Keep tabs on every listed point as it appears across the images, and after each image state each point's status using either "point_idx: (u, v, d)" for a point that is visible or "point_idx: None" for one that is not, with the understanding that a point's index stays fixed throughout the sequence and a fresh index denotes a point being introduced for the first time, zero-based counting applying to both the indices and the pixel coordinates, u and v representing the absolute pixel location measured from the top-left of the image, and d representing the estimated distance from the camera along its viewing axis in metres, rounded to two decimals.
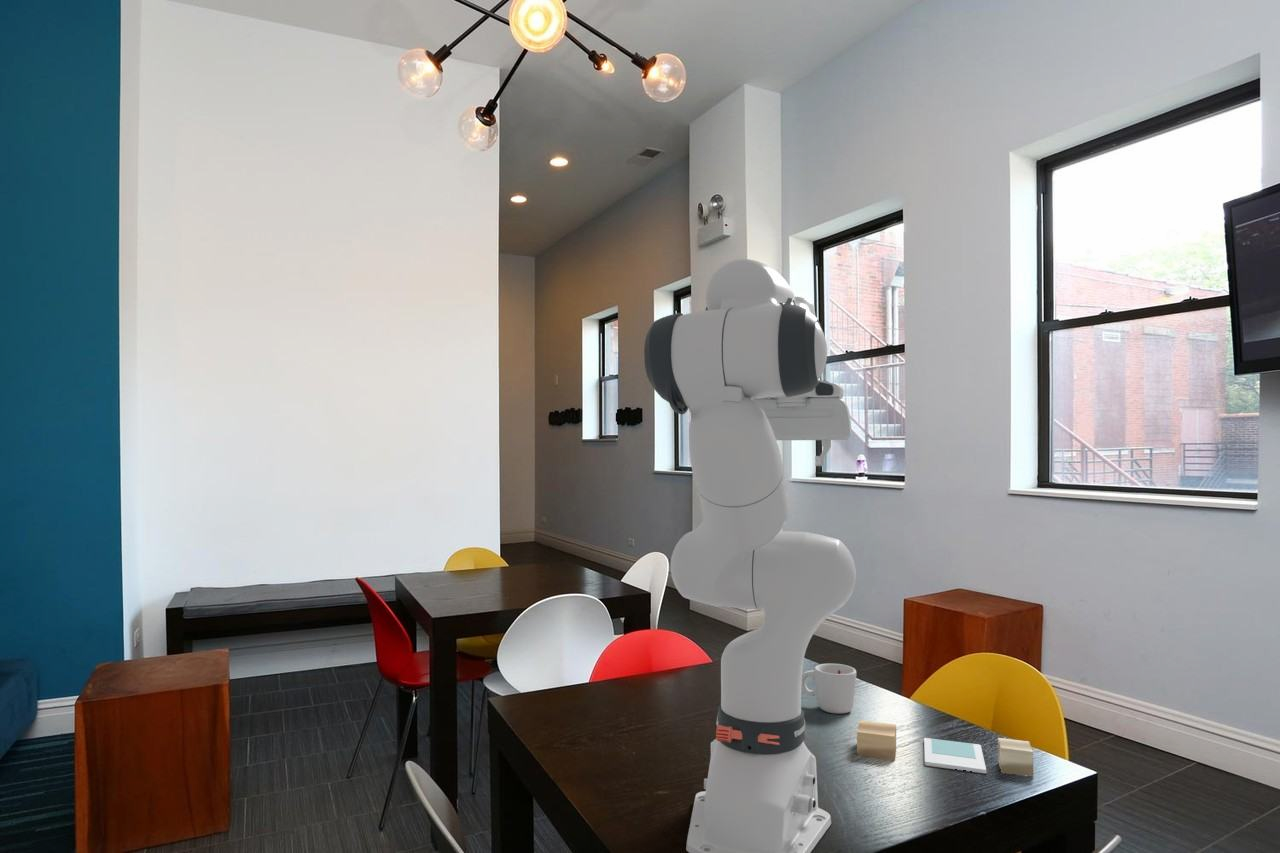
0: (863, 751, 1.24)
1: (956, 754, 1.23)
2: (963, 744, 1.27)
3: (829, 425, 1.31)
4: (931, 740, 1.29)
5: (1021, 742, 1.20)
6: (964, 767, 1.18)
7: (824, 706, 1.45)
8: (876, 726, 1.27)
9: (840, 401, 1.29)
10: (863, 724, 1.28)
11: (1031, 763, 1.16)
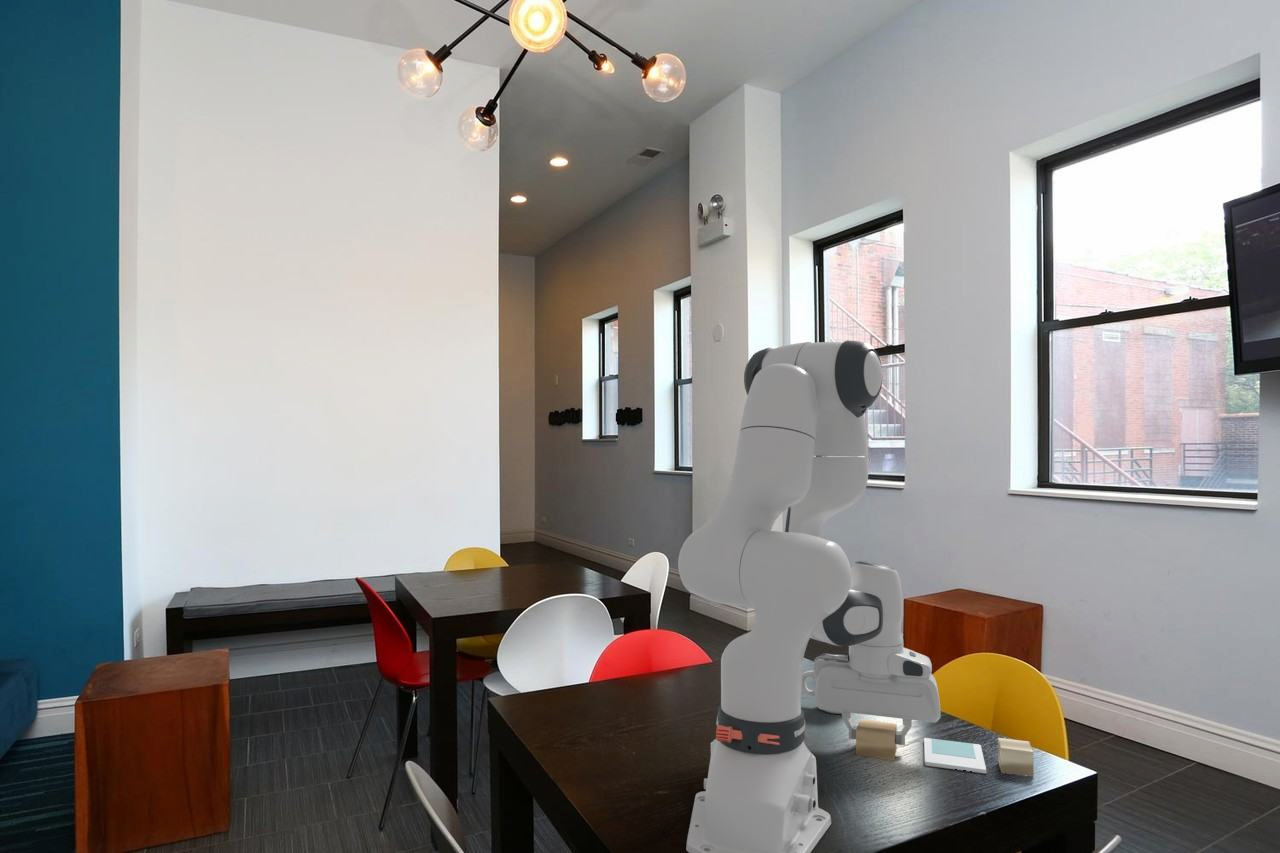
0: (862, 750, 1.24)
1: (956, 754, 1.23)
2: (963, 744, 1.27)
3: (917, 705, 1.22)
4: (931, 740, 1.29)
5: (1021, 742, 1.20)
6: (964, 767, 1.18)
7: None
8: (876, 725, 1.27)
9: (930, 682, 1.21)
10: (863, 723, 1.28)
11: (1031, 763, 1.16)
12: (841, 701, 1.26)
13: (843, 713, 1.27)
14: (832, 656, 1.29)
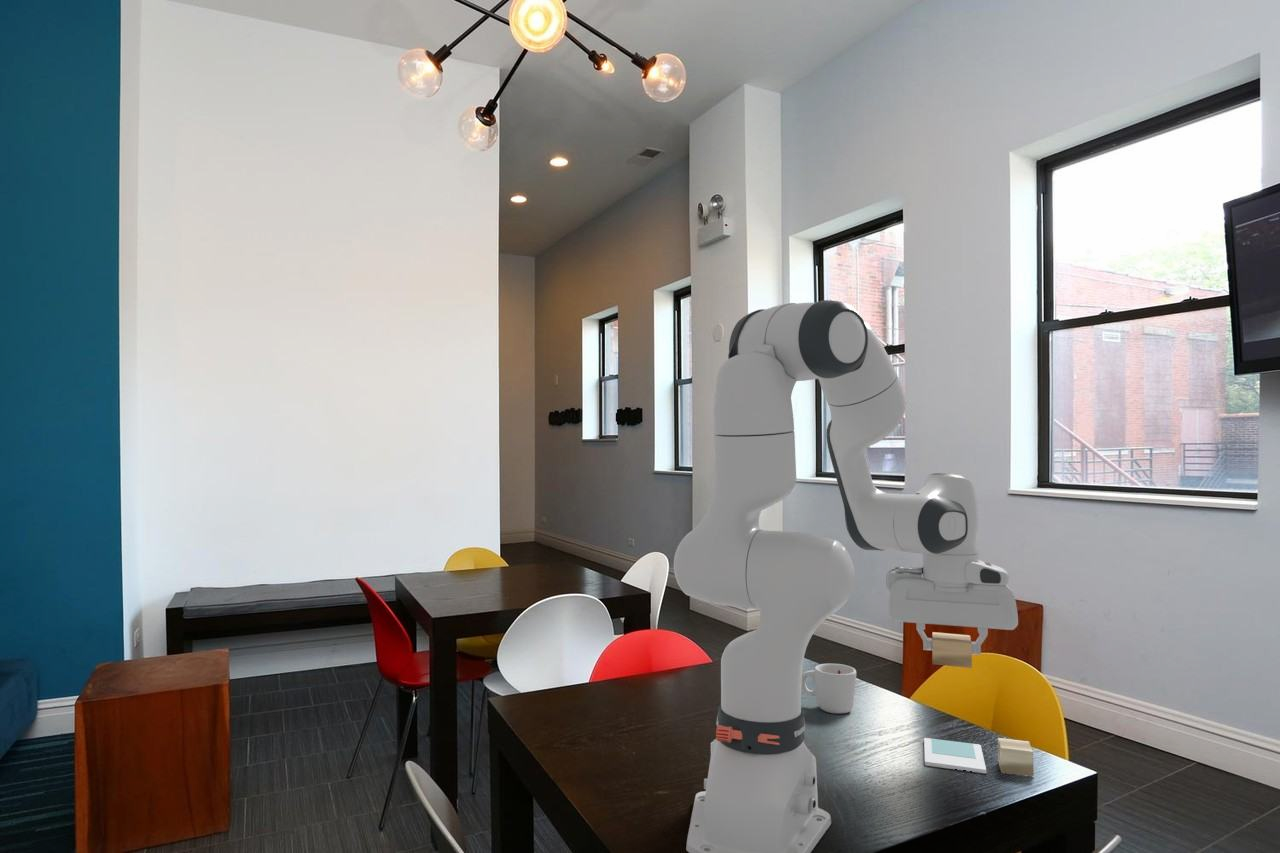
0: (939, 659, 1.24)
1: (956, 754, 1.23)
2: (963, 744, 1.27)
3: (994, 614, 1.22)
4: (931, 740, 1.29)
5: (1021, 742, 1.20)
6: (964, 767, 1.18)
7: (824, 706, 1.45)
8: (950, 636, 1.27)
9: (1008, 590, 1.21)
10: (937, 635, 1.28)
11: (1031, 763, 1.16)
12: (915, 612, 1.27)
13: (917, 624, 1.27)
14: (905, 569, 1.29)
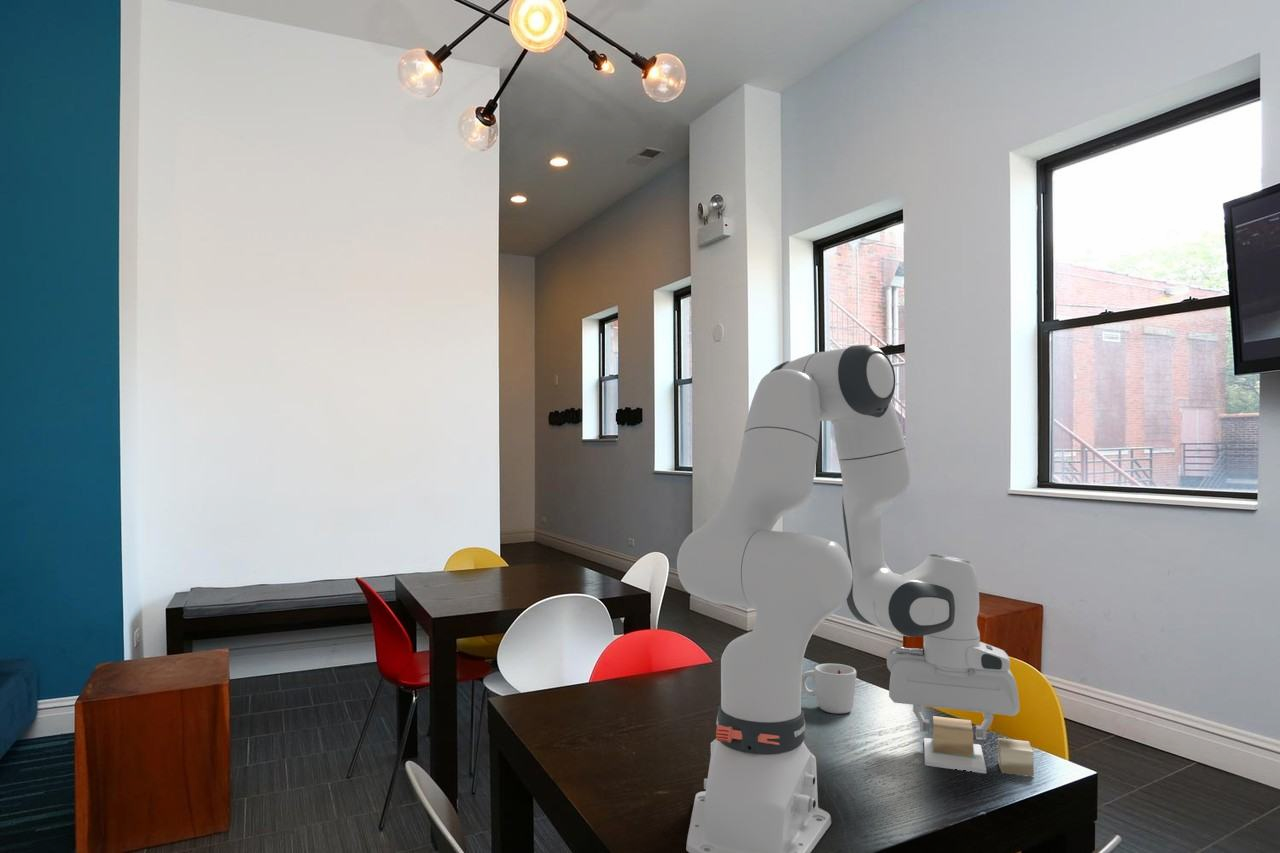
0: (940, 747, 1.23)
1: None
2: None
3: (995, 699, 1.22)
4: (931, 740, 1.29)
5: (1021, 742, 1.20)
6: (964, 767, 1.18)
7: (824, 706, 1.45)
8: (951, 722, 1.26)
9: (1009, 676, 1.21)
10: (938, 720, 1.27)
11: (1031, 763, 1.16)
12: (916, 695, 1.26)
13: (914, 706, 1.27)
14: (906, 649, 1.28)
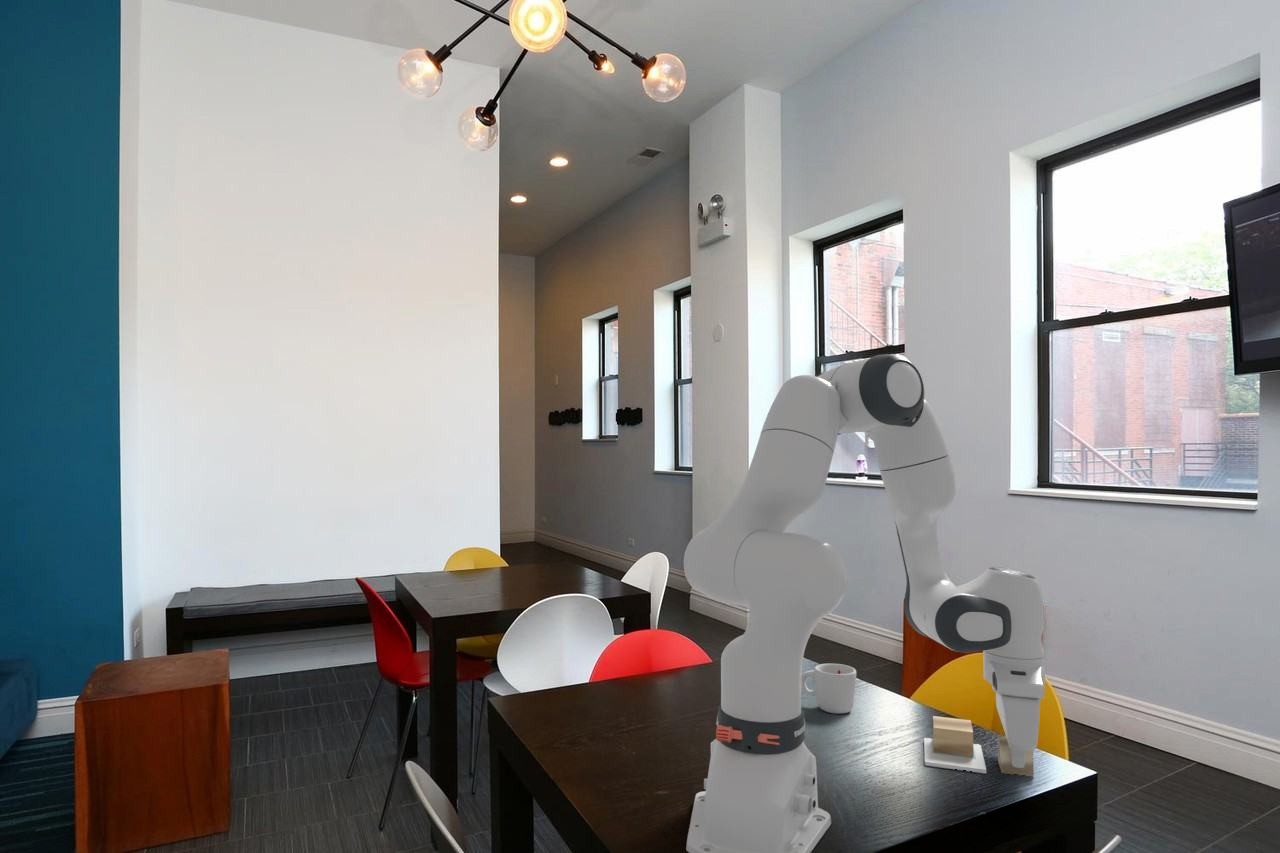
0: (940, 747, 1.23)
1: None
2: None
3: None
4: (931, 740, 1.29)
5: None
6: (964, 767, 1.18)
7: (824, 706, 1.45)
8: (951, 722, 1.26)
9: (1002, 701, 1.12)
10: (938, 720, 1.27)
11: (1031, 762, 1.16)
12: (998, 705, 1.25)
13: None
14: None
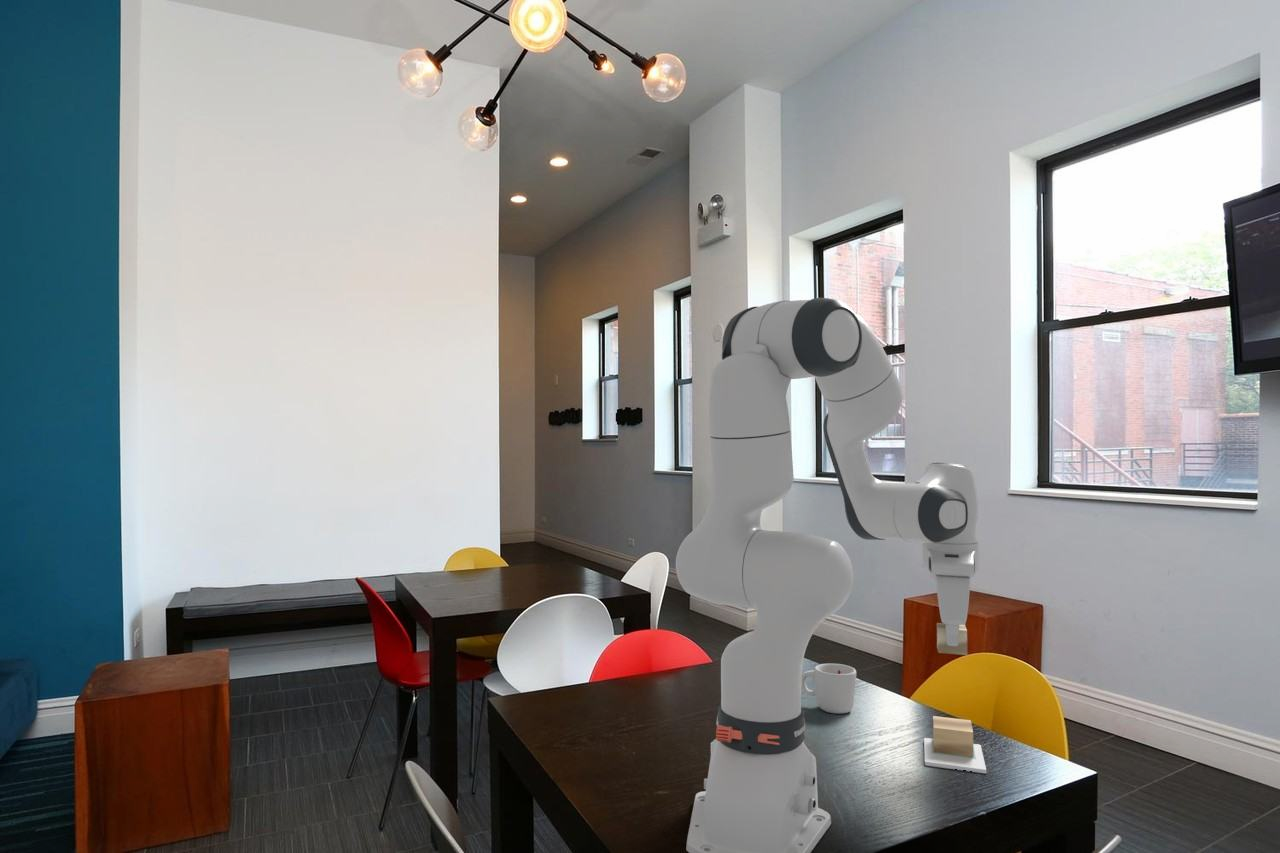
0: (940, 747, 1.23)
1: None
2: None
3: None
4: (931, 740, 1.29)
5: None
6: (964, 767, 1.18)
7: (824, 706, 1.45)
8: (951, 722, 1.26)
9: (936, 580, 1.20)
10: (938, 720, 1.27)
11: (965, 641, 1.23)
12: None
13: None
14: None
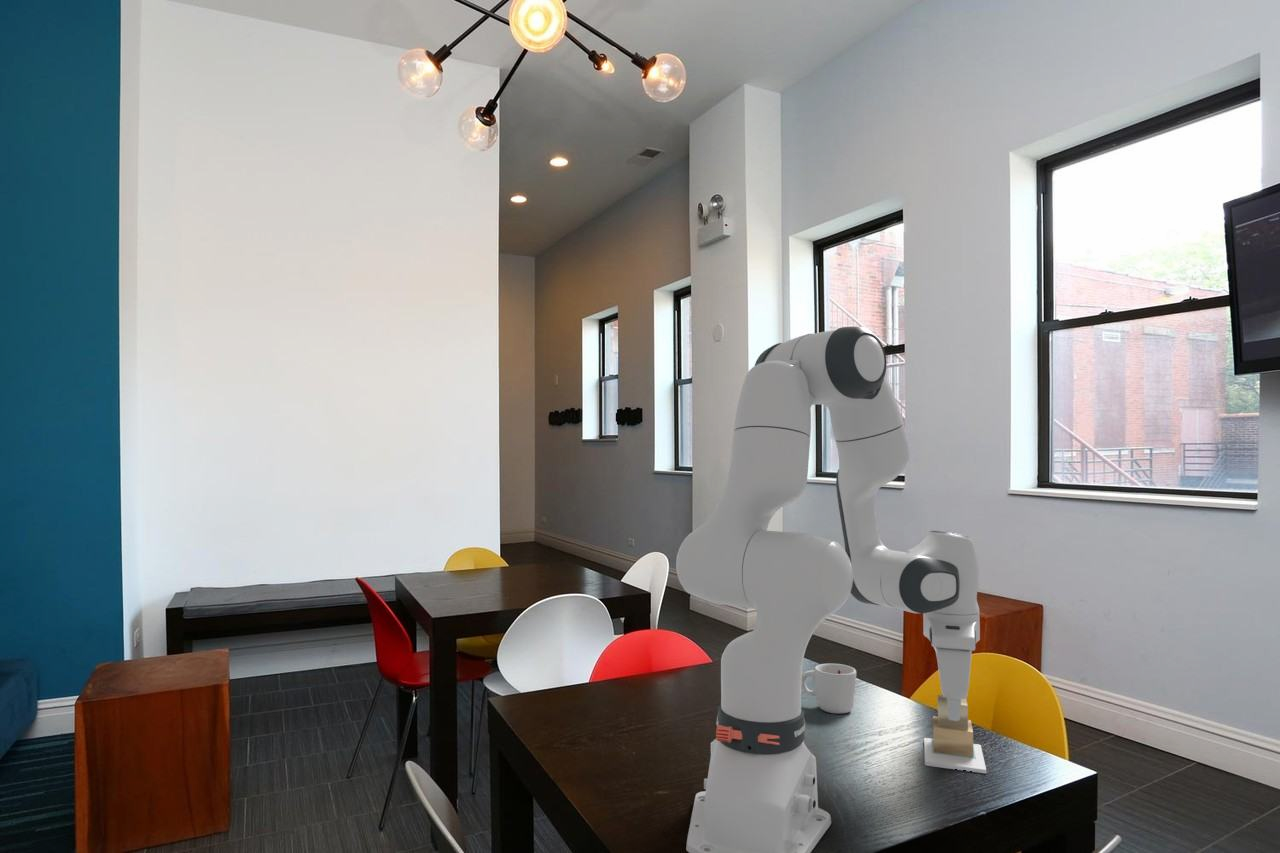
0: (940, 747, 1.23)
1: None
2: None
3: None
4: (931, 740, 1.29)
5: None
6: (964, 767, 1.18)
7: (824, 706, 1.45)
8: None
9: (937, 653, 1.19)
10: None
11: (966, 716, 1.23)
12: None
13: None
14: None
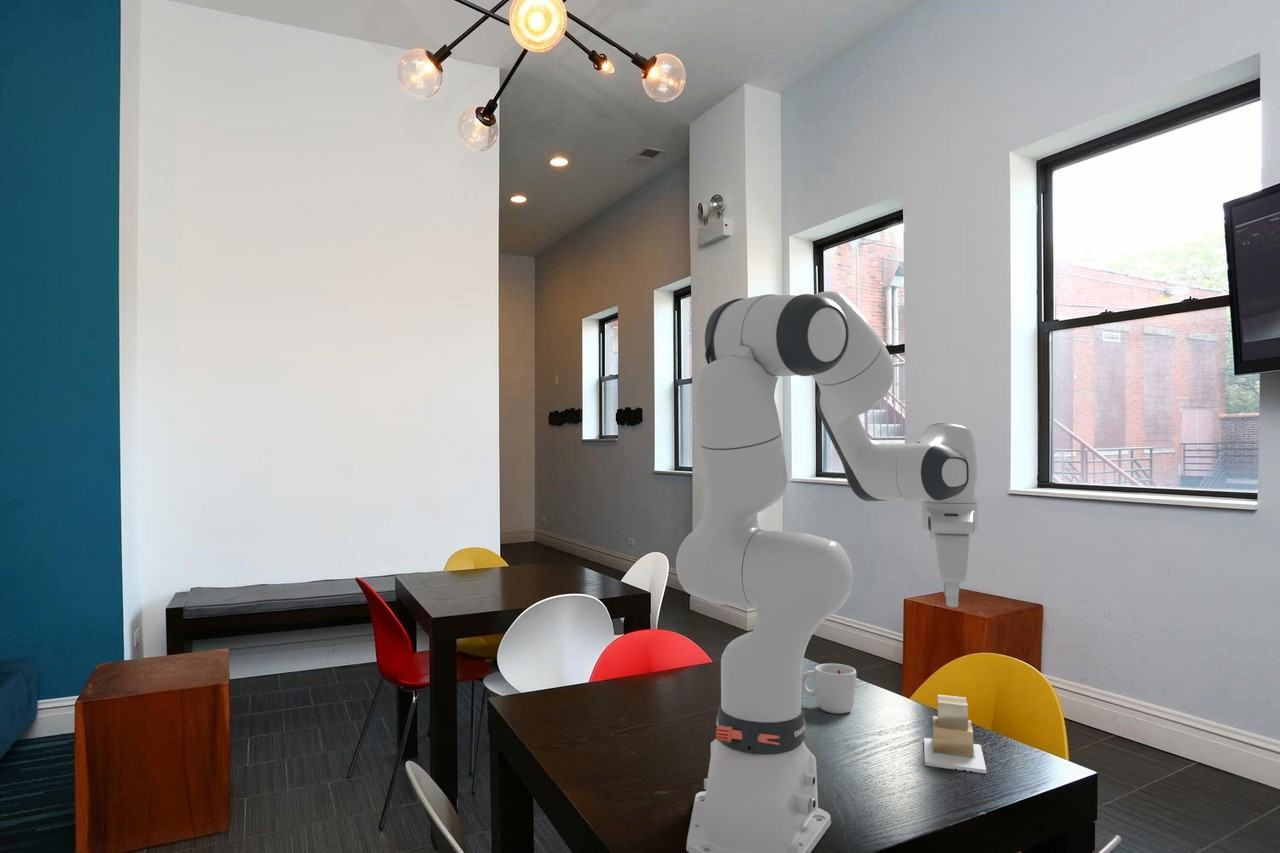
0: (940, 747, 1.23)
1: None
2: None
3: None
4: (931, 740, 1.29)
5: (958, 698, 1.27)
6: (964, 767, 1.18)
7: (824, 706, 1.45)
8: None
9: (935, 538, 1.20)
10: None
11: (966, 716, 1.23)
12: None
13: None
14: None
